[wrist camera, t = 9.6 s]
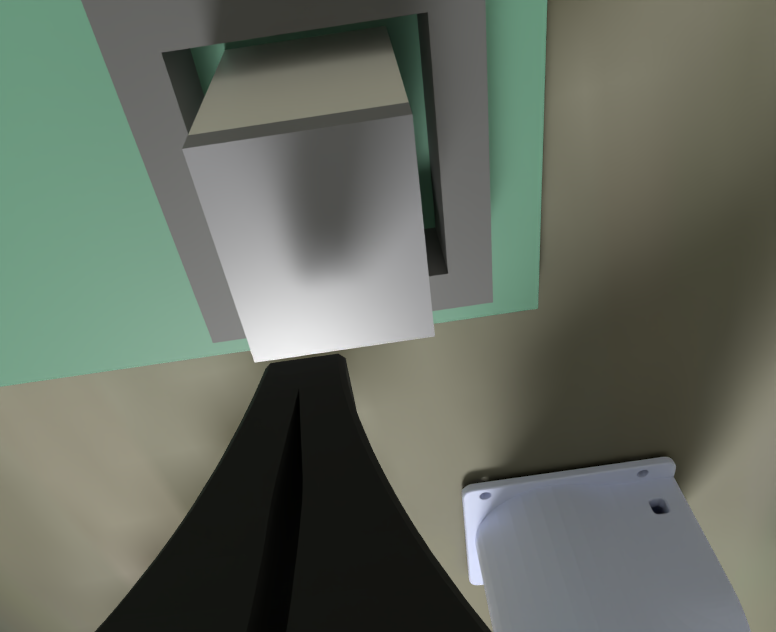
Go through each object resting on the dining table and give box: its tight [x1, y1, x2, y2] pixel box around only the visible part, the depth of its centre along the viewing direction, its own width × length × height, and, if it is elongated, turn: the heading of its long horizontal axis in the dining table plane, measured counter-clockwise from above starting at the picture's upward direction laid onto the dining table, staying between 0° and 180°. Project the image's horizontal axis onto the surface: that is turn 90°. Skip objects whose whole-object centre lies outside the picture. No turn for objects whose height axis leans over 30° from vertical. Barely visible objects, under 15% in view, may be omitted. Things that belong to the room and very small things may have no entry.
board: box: [0, 0, 547, 387], centre depth 17 cm, size 22×14×4 cm, turn 97°
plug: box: [182, 26, 435, 362], centre depth 15 cm, size 4×5×6 cm
